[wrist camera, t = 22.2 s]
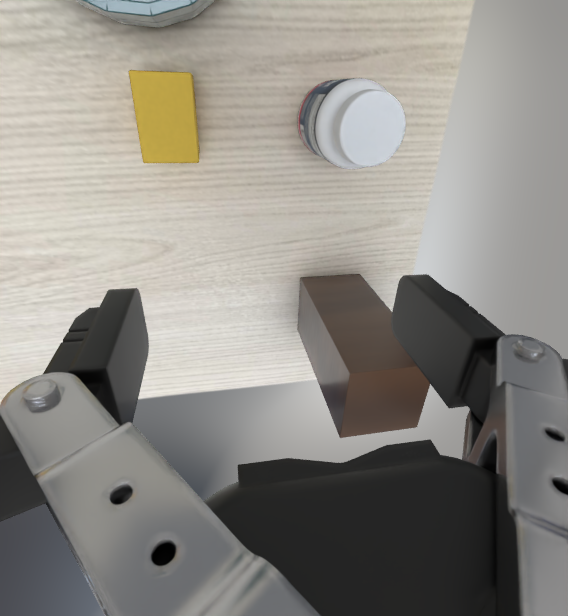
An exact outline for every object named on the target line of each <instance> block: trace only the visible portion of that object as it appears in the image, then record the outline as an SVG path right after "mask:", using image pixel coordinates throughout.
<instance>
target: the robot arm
mask: <svg viewBox="0 0 568 616" xmlns="http://www.w3.org/2000/svg"><path fill="white" fill-rule="evenodd" d="M391 327H392V331H393V334H394V336H395V337H396V339H397V340H398V341H399V343H400V344H401V345H402V347H403V348H404V349H405V351H406V352H407V353H408V355H409V356H410V357H411V359H412V360H413V361H414V363H415V364H416V365H417V367H418V368H419V369H420V371H421V372H422V373H423V374H424V376H425V377H426V378H427V380H428V381H429V382H430V384H431V385H432V386H433V387H434V389H435V390H436V392H437V393H438V394H439V396H440V397H441V398H442V400H443V401H444V402H445V404H446V405H447V406H448V408H455V407H464V406H468V407H469V408H470V411H469V413H468V416H467V419H466V427H465V437H464V446H463V456H462V460H461V459H458V458H454V457H449V456H443V455H440V454H439V452H438V451H437V449H436V448H435V446H434V444H433V443H432V441H431V440H424V441H416V442H408V443H401V444H393V445H386V446H383V447H381V448H379V449H376V450H374V451H371V452H369V453H367V454H364V455H362V456H360V457H357V458H355V459H352V460H350V461H348V462H344V463H332V462H322V461H311V460H301V459H290V458H286V459H279V460H271V461H264V462H256V463H249V464H241V465H238V480H239V482H236V483H234V484H231V485H229V486H227V487H225V488H223V489H222V490H220V491H218V492H216V493H215V494H213V495H212V496H211V497H209V498H208V499H206V500H205V501H204V502H203V501H202V500H201V498H200V497H199V496H198V495H197V494H196V493H195V492H194V491H193V490H192V488H191V487H190V486H189V485H188V484H187V483H186V482H185V481H184V480H183V478H182V477H181V476H180V475H179V474H178V473H177V472H176V471H175V470H174V469H173V468H172V467H171V465H170V464H169V463H168V462H167V461H166V460H165V459H164V458H163V457H162V455H161V454H160V453H159V452H158V451H157V450H156V449H155V448H154V447H153V446H152V444H151V443H150V442H149V441H148V440H147V439H146V438H145V437H144V436H143V435H142V434H141V432H140V431H139V430H138V429H137V428H136V427H135V426H134V425H133V424H132V422H133V418H134V413H135V409H136V404H137V400H138V396H139V392H140V387H141V383H142V379H143V374H144V370H145V366H146V361H147V357H148V349H149V343H148V333H147V328H146V323H145V317H144V312H143V307H142V302H141V297H140V293H139V290H138V289H137V288H132V289H112V290H108V292H107V294H106V296H105V298H104V300H103V302H102V304H101V305H100V307H97V308H89V309H87V310H86V311H85V312H84V313H82V314H81V315H80V316H78V317H77V318H76V319H75V320H74V322H73V324H72V325H71V327H70V329H69V333H67V334H66V336H65V337H64V339H63V343H61V344H60V346H59V348H58V349H57V351H56V353H55V355H54V356H53V358H52V360H51V361H50V363H49V365H48V367H47V368H46V370H45V372H44V373H43V375H39V376H36V377H33V378H31V379H29V380H27V381H24V382H23V383H21V384H19V385H18V386H16V387H15V388H13V389H12V390H11V391H10V392H9V393H8V394H7V395H6V396H5V397H4V398H3V400H2V402H1V404H0V521H3V520H5V519H8V518H10V517H13V516H15V515H18V514H20V513H23V512H25V511H27V510H30V509H32V508H35V507H37V506H40V505H42V504H45V503H46V505H47V507H48V509H49V511H50V512H51V514H52V516H53V518H54V520H55V522H56V523H57V525H58V527H59V529H60V531H61V533H62V535H63V537H64V539H65V540H66V542H67V544H68V546H69V548H70V550H71V552H72V553H73V555H74V557H75V559H76V561H77V563H78V565H79V567H80V568H81V570H82V572H83V574H84V576H85V578H86V580H87V582H88V584H89V585H90V588H91V589H92V591H93V593H94V595H95V597H96V599H97V601H98V603H99V605H100V607H101V608H102V610H103V612H104V614H105V615H106V616H568V359H562V358H561V356H560V354H559V353H558V352H557V351H556V350H555V349H553V348H552V347H551V346H549V345H547V344H545V343H543V342H541V341H539V340H537V339H534V338H531V337H527V336H523V335H505V334H504V333H503V332H502V331H501V330H499V329H498V328H497V327H496V326H494V325H493V324H492V323H491V322H490V321H488V320H487V319H486V318H485V317H484V316H482V315H481V314H478V312H477V311H476V310H475V309H474V308H472V307H471V306H469V304H468V303H466V302H465V301H464V300H463V299H462V298H461V297H459V296H458V295H456V294H454V293H452V292H450V291H448V290H446V289H444V288H443V287H442V286H441V285H440V284H439V283H437V282H436V281H435V280H434V279H433V278H431V277H430V276H429V275H405V276H403V277H402V278H401V279H400V281H399V284H398V289H397V294H396V298H395V303H394V308H393V312H392V317H391Z"/></svg>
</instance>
